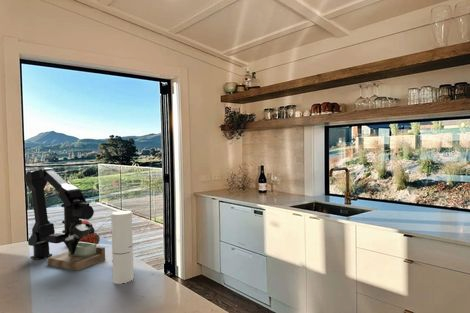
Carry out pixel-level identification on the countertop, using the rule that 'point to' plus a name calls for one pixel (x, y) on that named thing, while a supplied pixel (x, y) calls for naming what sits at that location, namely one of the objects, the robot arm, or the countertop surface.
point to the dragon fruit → (91, 238)
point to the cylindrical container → (122, 246)
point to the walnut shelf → (77, 260)
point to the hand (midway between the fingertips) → (72, 254)
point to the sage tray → (84, 249)
